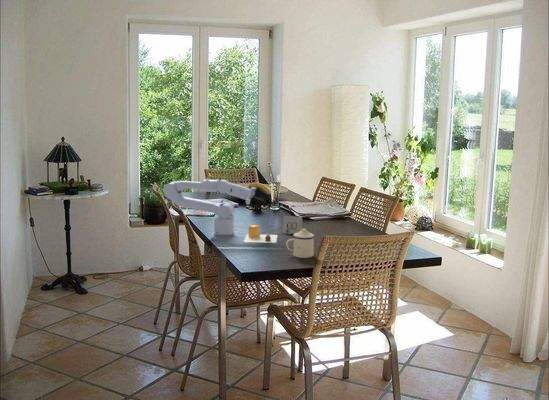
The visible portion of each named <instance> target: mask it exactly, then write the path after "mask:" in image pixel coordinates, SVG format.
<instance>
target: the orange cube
mask: <svg viewBox="0 0 549 400" xmlns="http://www.w3.org/2000/svg"><path fill="white" fill-rule="evenodd" d="M260 226H261V225H259V224H251V225H249V226H248V234H249V237H252V238H257V237H260V235H261V227H260Z"/></svg>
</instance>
